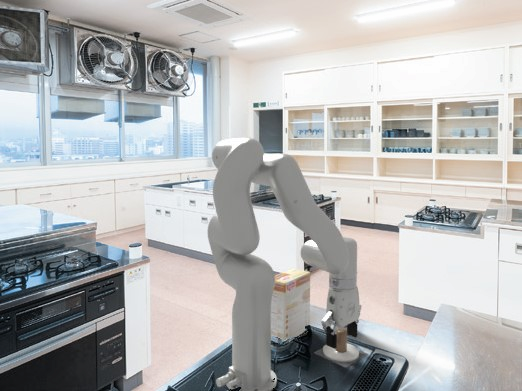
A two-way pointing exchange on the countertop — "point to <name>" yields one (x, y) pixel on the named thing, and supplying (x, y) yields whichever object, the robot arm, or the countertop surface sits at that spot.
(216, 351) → the countertop surface
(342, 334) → the lid
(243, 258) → the robot arm
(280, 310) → the coffeecake box
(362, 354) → the mat
